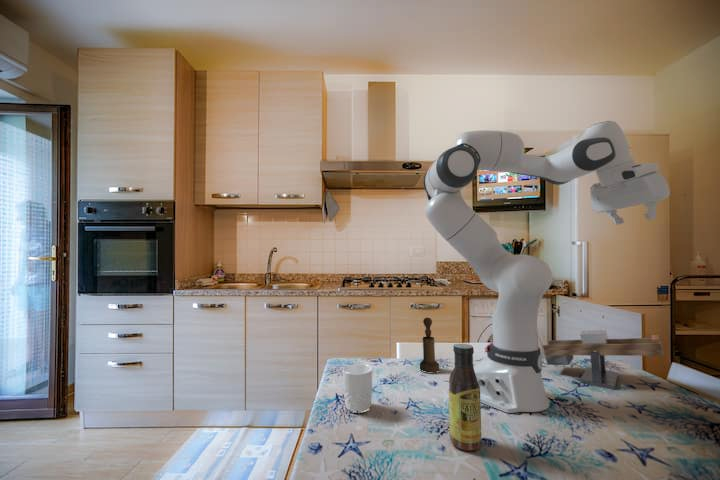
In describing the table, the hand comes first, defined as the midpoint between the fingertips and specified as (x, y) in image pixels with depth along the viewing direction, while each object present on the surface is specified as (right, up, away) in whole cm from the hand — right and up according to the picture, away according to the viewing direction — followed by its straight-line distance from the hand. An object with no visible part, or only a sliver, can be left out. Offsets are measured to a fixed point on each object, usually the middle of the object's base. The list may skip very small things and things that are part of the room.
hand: (634, 221), depth 88 cm
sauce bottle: (-57, -48, -25) cm, 78 cm away
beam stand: (-4, -48, +7) cm, 49 cm away
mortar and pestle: (-55, -51, +19) cm, 77 cm away
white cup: (-79, -49, -8) cm, 94 cm away
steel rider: (-5, -39, +8) cm, 40 cm away
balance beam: (-4, -43, +7) cm, 44 cm away
